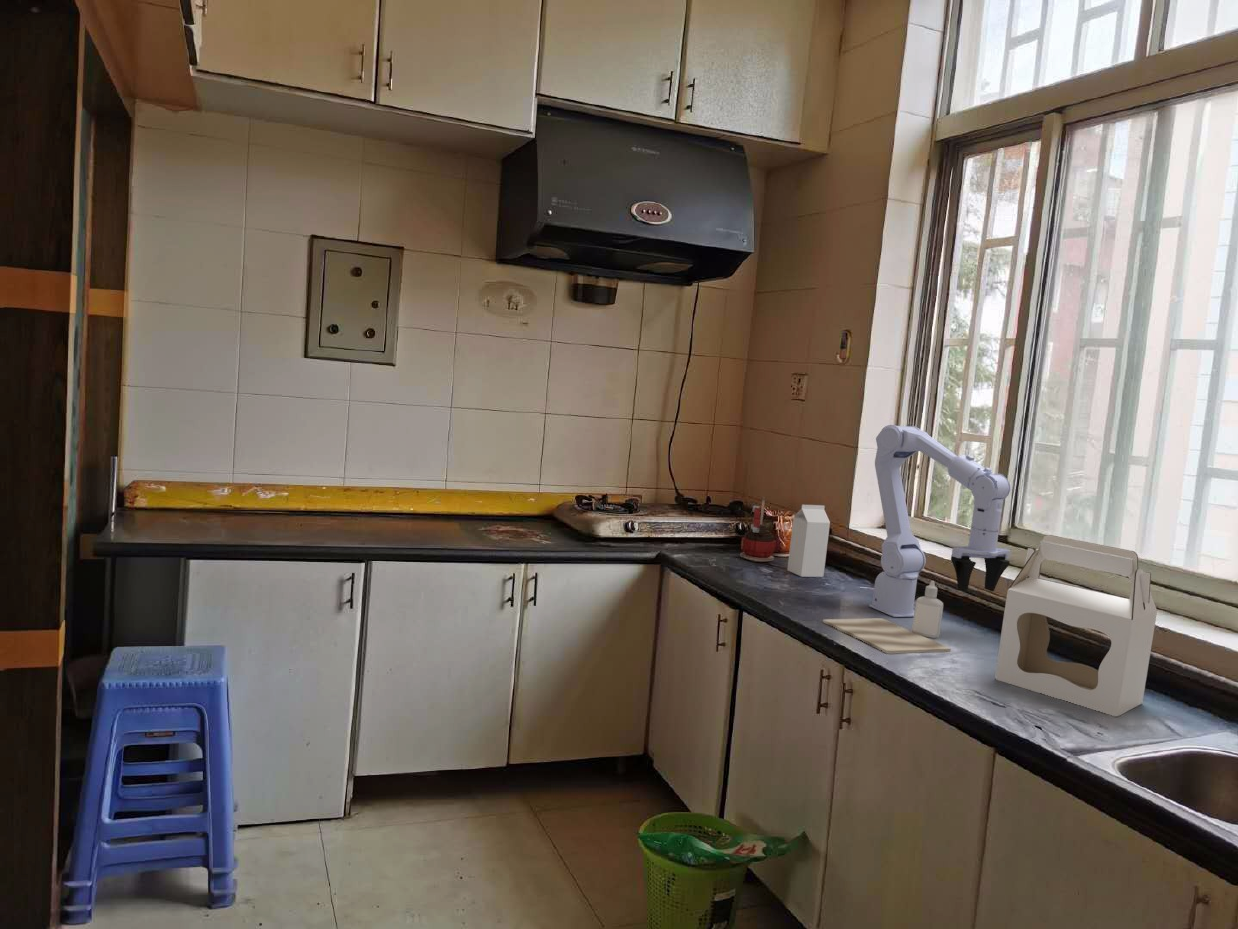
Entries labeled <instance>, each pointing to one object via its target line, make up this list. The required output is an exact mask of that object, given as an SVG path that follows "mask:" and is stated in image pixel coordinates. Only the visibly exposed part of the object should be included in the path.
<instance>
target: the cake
mask: <svg viewBox="0 0 1238 929" xmlns="http://www.w3.org/2000/svg"><path fill="white" fill-rule="evenodd" d="M765 502H766V497H762V499H761V508H760V506H758V505H753V506H752V512H753V520H752V523H751V524H750V529H749V530H747V532H745V533H744V535H743V536H742V537H741V541H740V548H741V550H742V552H740V554H739V555H740V557H741V558H743V559H746V560H748V561H751V562H757V563H765V562H766V563H767V562H772V561H774V560H775V557H774V556H773V552H775V551H776V546H777V541H776V540H775V536H774V534H772V532H771V531H770V530H769V529H766V525H765V524H763V519H764V511H765V505H766V504H765Z"/></svg>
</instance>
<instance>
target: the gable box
mask: <svg viewBox="0 0 1238 929" xmlns="http://www.w3.org/2000/svg"><path fill="white" fill-rule="evenodd" d="M1039 544H1040V547H1037V548H1036V549H1035V548H1032V547H1027V552H1026V556H1025V560H1024V565H1023V567H1022V568H1021V569H1020V571H1019V572H1018V574H1017V575H1016V577H1015V578H1014V580H1013V582H1011V584H1010V585H1009V587H1008V588H1007V592H1006V596H1005V597H1006V598H1005V606H1004V613H1003V619H1002V624H1001V625H1002V626H1001V633H1000V640H999V647H998V654H997V660H996V665H995V666H996V667H995V674H994V678H995V680H996V681H999V682H1002V683H1005V684H1008V685H1011V686H1014V687H1019V688H1021V689H1024V690H1028V691H1031V692H1034V693H1038V694H1040V693H1042V694H1041V695H1043V694H1045V696H1047V695H1048V696H1047V697H1050V696H1051V697H1050V698H1053V697H1054V698H1053V699H1056V698H1057V700H1059V699H1062V700H1061V701H1063V700H1065V701H1064V702H1066V701H1068V702H1067V703H1069V702H1071V703H1070V704H1072V703H1074V704H1073V705H1075V704H1077V705H1076V706H1079V705H1081V706H1080V707H1082V706H1084V707H1083V708H1085V707H1087V708H1086V709H1088V708H1090V709H1089V710H1091V709H1093V710H1092V711H1095V710H1096V712H1098V711H1100V712H1099V713H1101V712H1103V713H1102V714H1104V713H1106V714H1105V715H1108V714H1109V715H1108V716H1111V715H1112V717H1114V718H1118V717H1120V716H1121V715H1123V714H1125V713H1126V712H1128V711H1130V710H1132V709H1134V708H1136V707H1138V706H1139V705H1142V704H1143V702H1144V701H1143V700H1144V696H1145V695H1144V694H1145V688H1146V682H1147V677H1148V670H1149V663H1150V660H1151V659H1150V658H1151V653H1152V652H1151V650H1152V645H1153V639H1154V633H1155V626H1156V621H1157V620H1156V619H1157V615H1158V610H1157V607H1156V604H1155V601H1154V598H1153V596H1152V592H1151V585H1152V584H1151V583H1152V582H1151V581H1152V580H1151V579H1152V573H1151V572H1147V571H1144V570H1143V569H1142V568H1139V555H1138V554H1137V552H1135V551H1133V550H1130V549H1124V548H1118V547H1113V546H1108V545H1104V544H1098V543H1094V542H1088V541H1083V540H1078V539H1073V538H1068V537H1062V536H1058V535H1057V536H1056V535H1054V534H1047V535H1045V536H1044V537H1043V538H1042V540H1040V542H1039ZM1045 560H1046V561H1049V562H1051V561H1052V562H1058V563H1061V564H1062V563H1063V564H1067V565H1071V566H1077V567H1082V568H1086V569H1089V570H1090V569H1091V570H1095V571H1099V572H1100V571H1101V572H1106V573H1110V574H1114V575H1117V576H1119V575H1120V576H1121V577H1122V578H1124V577H1126V578H1129V580H1130V582H1131V583H1130V592H1129V597H1123V596H1119V595H1115V594H1111V593H1107V592H1102V591H1098V590H1094V589H1089V588H1085V587H1081V586H1075V585H1071V584H1066V583H1062V582H1058V581H1054V580H1049V579H1045V578H1041V577H1040V576H1041V570H1042V569H1041V568H1042V564H1043V563H1044V561H1045ZM1047 617H1048V618H1051V619H1053V620H1055V621H1057V622H1060V623H1062V624H1066V625H1068V626H1070V627H1073V628H1074V627H1075V628H1083V629H1090V630H1093V631H1096V632H1097V631H1098V632H1101V633H1102V634H1105V635H1106V636H1107V637H1108V638H1109V639H1110V642H1111V643H1110V648H1109V650H1108V651H1107V653H1106V655H1105V656H1104V657H1103V659H1102V661H1101V663H1100V665H1099V667H1098V669H1096V668H1094V667H1092V666H1089V665H1086V664H1083V663H1077V662H1063V661H1057V660H1055V659H1052V658H1050V657H1049V655H1048V647H1049V643H1050V639H1051V634H1050V627H1049V623H1048V619H1047Z"/></svg>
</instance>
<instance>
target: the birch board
mask: <svg viewBox="0 0 1238 929" xmlns="http://www.w3.org/2000/svg"><path fill="white" fill-rule="evenodd" d="M822 623H824V624H826V625H828V626H830V627H832V626H833V627H832V628H834V627H835V628H834V629H836V628H837V629H836V630H838V631H839V632H842V633H844V632H846V633H847V635H848V634H849V636H850V635H851V636H850V637H852V636H853V637H852V638H854V639H856V638H858V639H860V640H862V641H863V642H862V641H861V642H862V643H864V642H865V643H864V644H866V643H867V645H868V644H870V645H872V646H874V647H875V648H874V647H873V648H874V649H876V648H877V650H879V651H881V650H882V651H881V652H882V653H885V654H887V655H889V654H891V655H894V654H895V655H896V654H915V653H921V652H922V653H942V652H943V653H944V652H951V650H952V649H951V648H950V647H948V646H946V645H943V644H942V643H939V642H936V641H935V640H932V639H931V638H929V637H924V636H921V635H919V634H917V633H914V632H912V630H910V629H908V628H906V627H904V626H903V627H902V626H901V625H898V624H897V623H893V622H891V621H889V620H887V619H885V618H882V617H879V618H878V617H876V618H875V617H874V618H872V617H871V618H833V619H831V618H828V619H822ZM846 633H845V634H846ZM858 639H857V640H858ZM860 640H859V641H860ZM870 645H869V646H870ZM872 646H871V647H872Z"/></svg>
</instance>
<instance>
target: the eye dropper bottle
mask: <svg viewBox="0 0 1238 929" xmlns="http://www.w3.org/2000/svg"><path fill="white" fill-rule="evenodd" d="M937 595H938V587H937V586H935V581H934V580H930V583H929V585H926V586H925V590H924V595H923V596H920V597H918V598H917V599H916V600H915V604H914V611H913V612H914V617H913V620H912V626H911V627H912V628H911V631H912V632H914V633H917V634H919V635H921V636H923V637H926V638H928V639H931V638H932V639H937V638H939V637H940V633H941V627H942V618H943V611H944V602H943V601H942V600H940V599H938V598H937Z"/></svg>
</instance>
